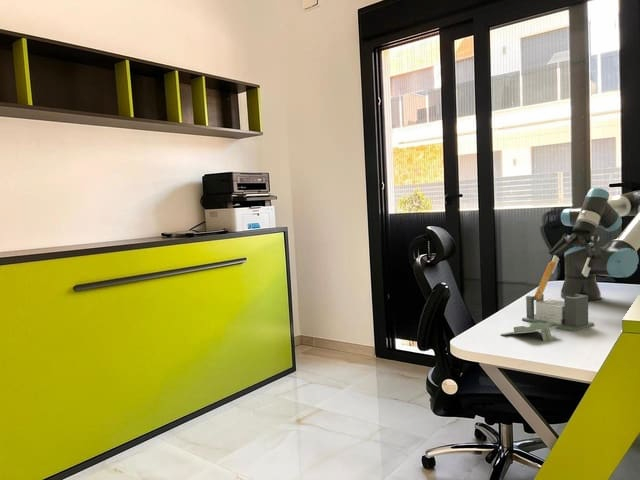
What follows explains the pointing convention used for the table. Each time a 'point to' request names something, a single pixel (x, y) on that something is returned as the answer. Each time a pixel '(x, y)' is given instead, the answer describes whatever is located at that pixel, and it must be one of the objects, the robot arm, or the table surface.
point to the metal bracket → (533, 328)
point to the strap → (544, 280)
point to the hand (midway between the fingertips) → (566, 273)
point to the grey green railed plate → (558, 325)
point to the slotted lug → (576, 310)
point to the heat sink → (546, 310)
